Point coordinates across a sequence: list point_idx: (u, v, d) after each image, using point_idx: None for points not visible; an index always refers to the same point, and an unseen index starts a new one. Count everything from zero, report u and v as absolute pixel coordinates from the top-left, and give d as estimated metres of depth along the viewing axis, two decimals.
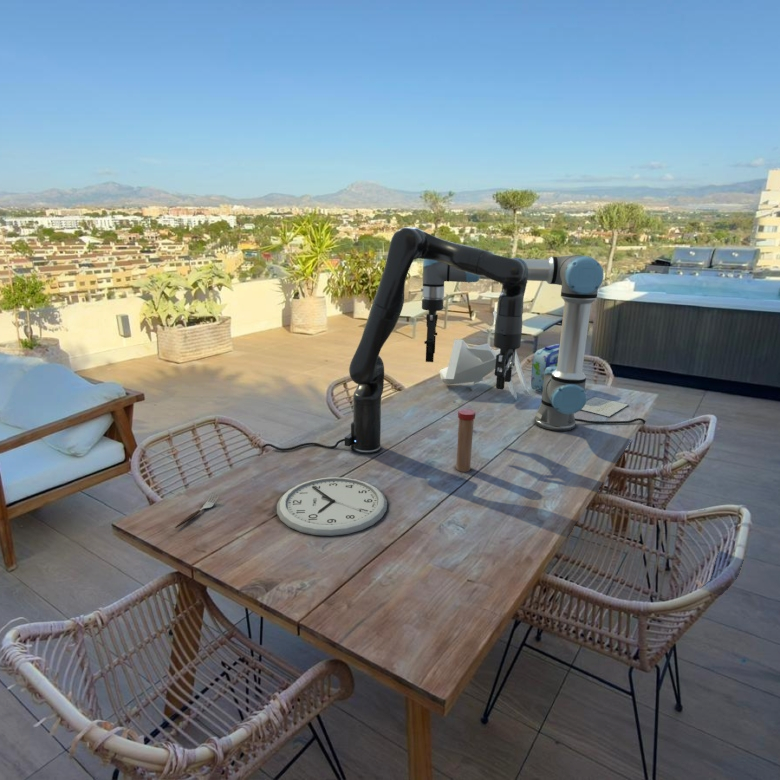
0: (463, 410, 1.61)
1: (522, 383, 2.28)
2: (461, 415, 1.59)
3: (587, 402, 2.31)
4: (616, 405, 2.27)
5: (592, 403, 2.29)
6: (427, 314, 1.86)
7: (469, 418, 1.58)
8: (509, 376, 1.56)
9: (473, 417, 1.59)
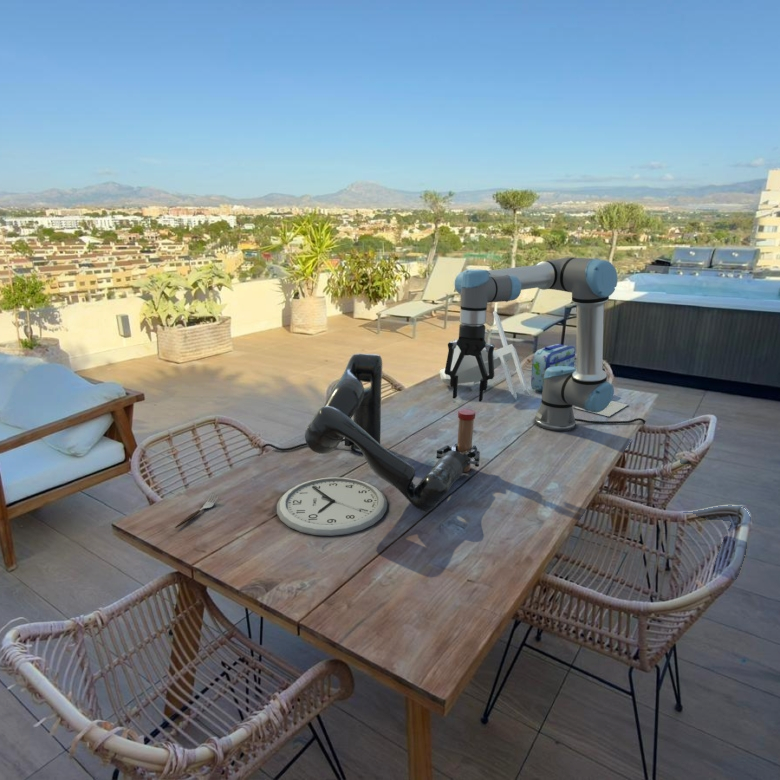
0: (463, 410, 1.61)
1: (522, 383, 2.28)
2: (461, 415, 1.59)
3: None
4: (616, 405, 2.27)
5: None
6: None
7: (469, 418, 1.58)
8: None
9: (473, 417, 1.59)
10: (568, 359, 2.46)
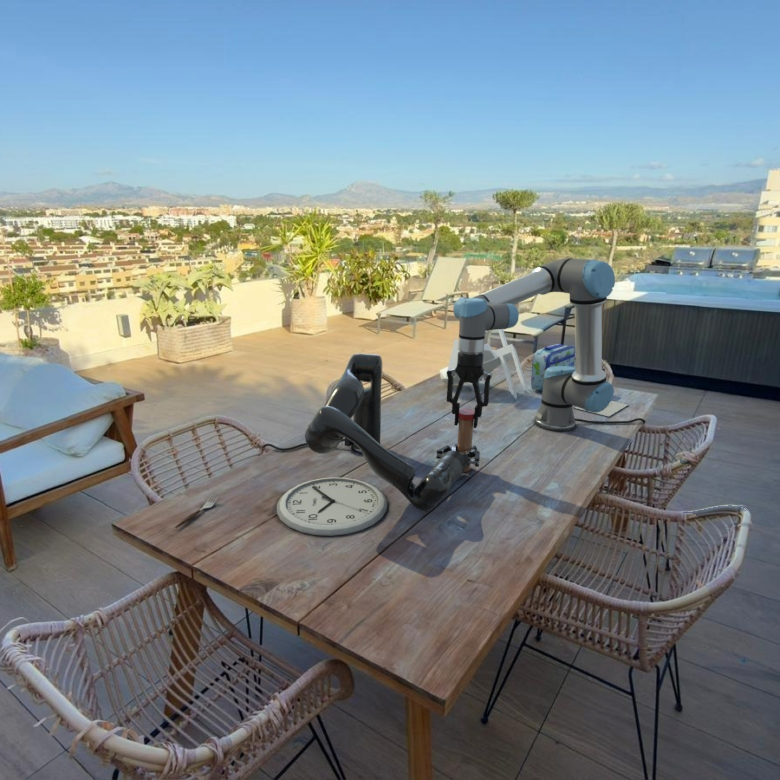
0: (463, 410, 1.61)
1: (522, 383, 2.28)
2: (461, 415, 1.59)
3: None
4: (616, 405, 2.27)
5: None
6: None
7: (469, 418, 1.58)
8: None
9: (473, 417, 1.59)
10: (568, 359, 2.46)
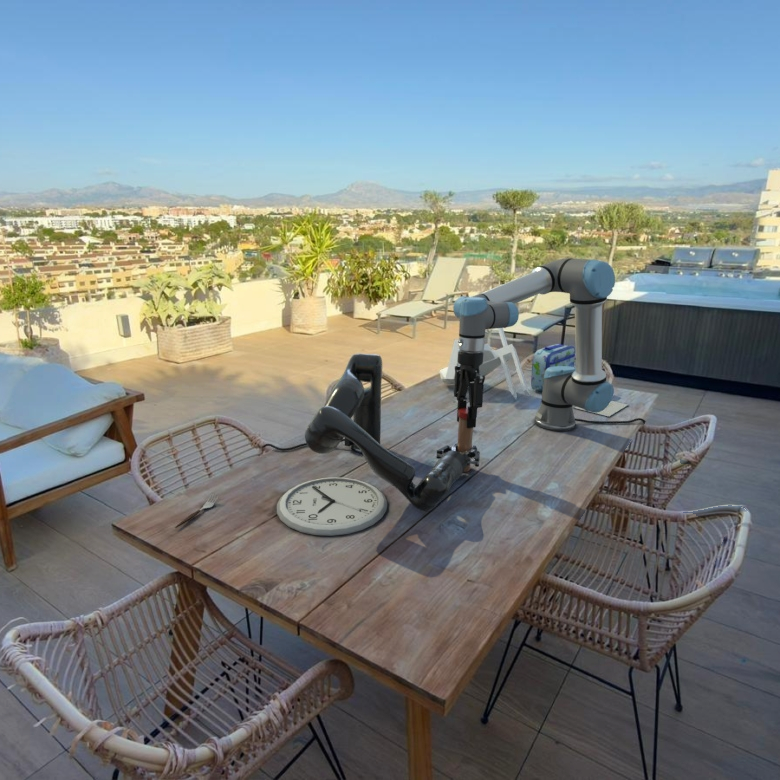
0: (466, 412, 1.59)
1: (522, 383, 2.28)
2: None
3: None
4: (616, 405, 2.27)
5: None
6: (462, 369, 1.57)
7: None
8: None
9: None
10: (568, 359, 2.46)
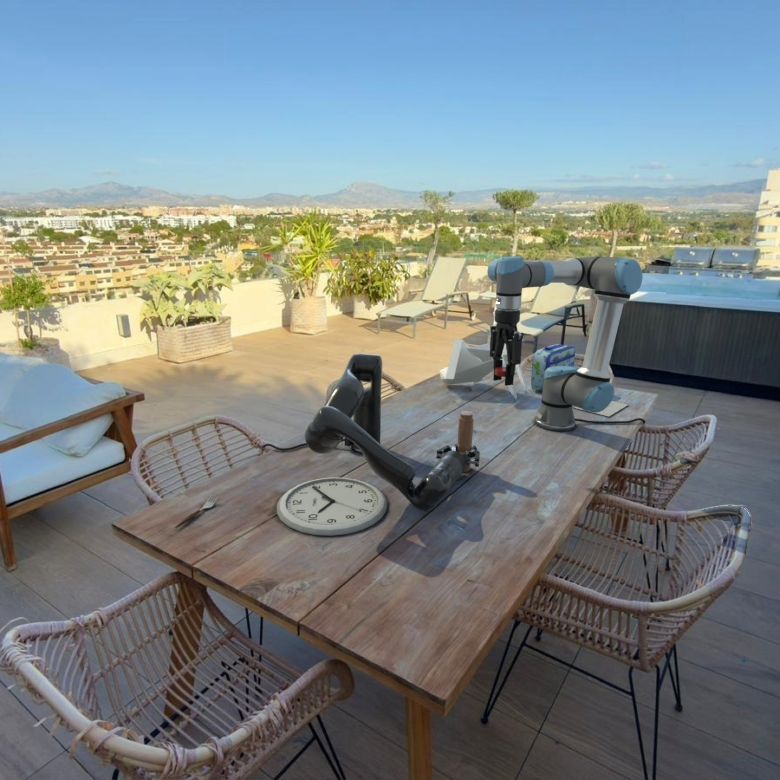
0: (503, 370, 1.63)
1: (522, 383, 2.28)
2: None
3: None
4: (616, 405, 2.27)
5: None
6: (499, 328, 1.61)
7: None
8: None
9: None
10: (568, 359, 2.46)
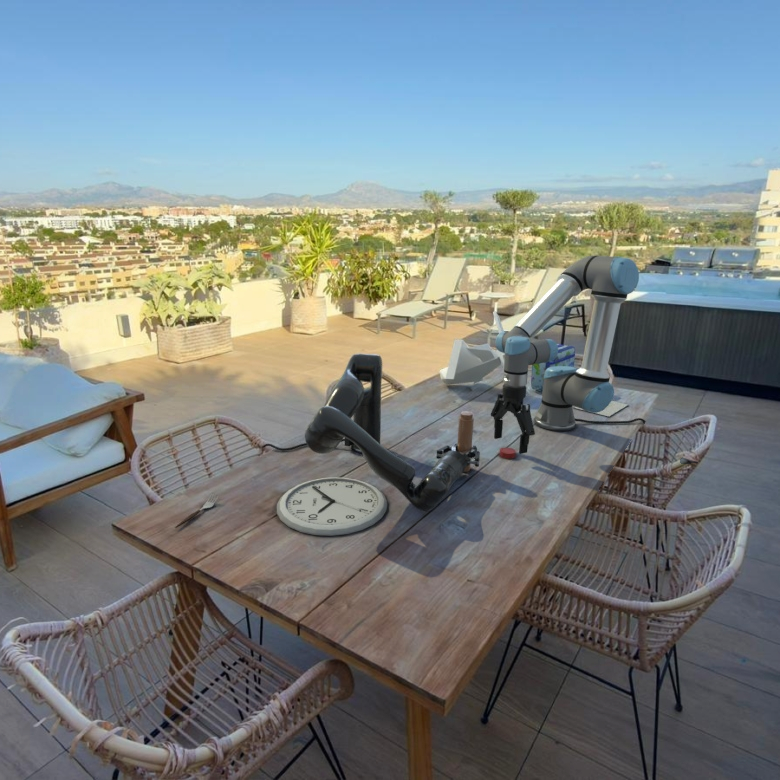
0: (507, 452, 1.74)
1: None
2: None
3: None
4: (616, 405, 2.27)
5: None
6: (507, 401, 1.71)
7: None
8: None
9: None
10: (568, 359, 2.46)
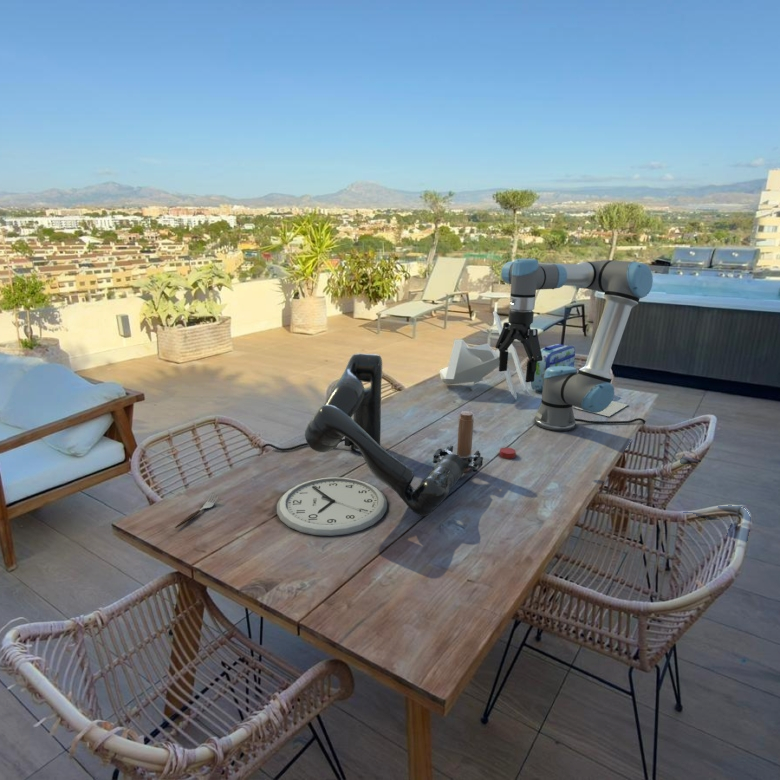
0: (507, 452, 1.74)
1: (522, 383, 2.28)
2: None
3: None
4: (616, 405, 2.27)
5: None
6: (513, 328, 1.64)
7: None
8: (451, 448, 1.64)
9: None
10: (568, 359, 2.46)
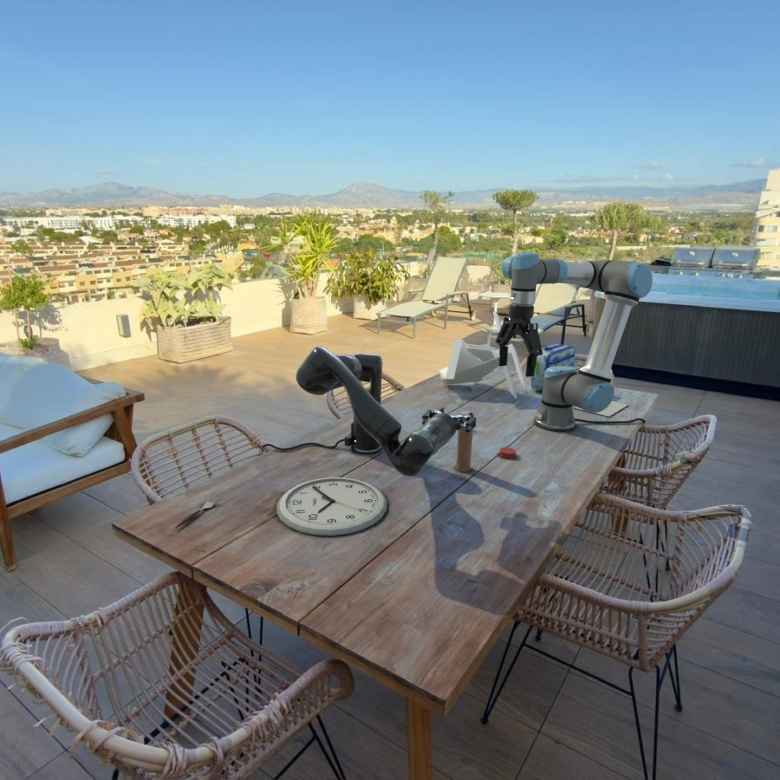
0: (507, 452, 1.74)
1: (522, 383, 2.28)
2: None
3: None
4: (616, 405, 2.27)
5: None
6: (513, 323, 1.63)
7: None
8: (442, 409, 1.50)
9: None
10: (568, 359, 2.46)
